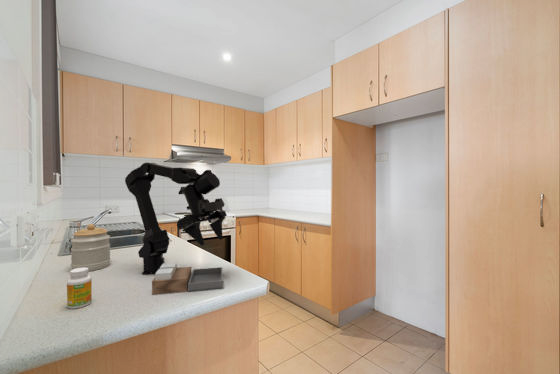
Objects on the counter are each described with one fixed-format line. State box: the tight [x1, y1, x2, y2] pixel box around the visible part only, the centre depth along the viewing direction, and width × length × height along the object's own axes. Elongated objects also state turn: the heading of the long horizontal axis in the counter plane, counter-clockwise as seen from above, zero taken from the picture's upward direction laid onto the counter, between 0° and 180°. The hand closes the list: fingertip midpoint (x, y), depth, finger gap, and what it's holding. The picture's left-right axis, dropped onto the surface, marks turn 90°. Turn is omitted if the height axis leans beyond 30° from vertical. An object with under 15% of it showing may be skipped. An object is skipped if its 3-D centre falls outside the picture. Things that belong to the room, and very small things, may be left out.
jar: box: [70, 223, 112, 272], centre depth 104 cm, size 13×13×18 cm
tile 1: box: [160, 262, 178, 273], centre depth 87 cm, size 4×4×2 cm
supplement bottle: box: [66, 268, 93, 310], centre depth 71 cm, size 5×5×10 cm
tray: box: [187, 266, 224, 293], centre depth 87 cm, size 10×14×2 cm
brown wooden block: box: [151, 266, 192, 296], centre depth 84 cm, size 10×12×4 cm
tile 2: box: [154, 268, 174, 280], centre depth 81 cm, size 4×4×2 cm
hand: (212, 242), depth 87 cm, fingers open, 9 cm apart
